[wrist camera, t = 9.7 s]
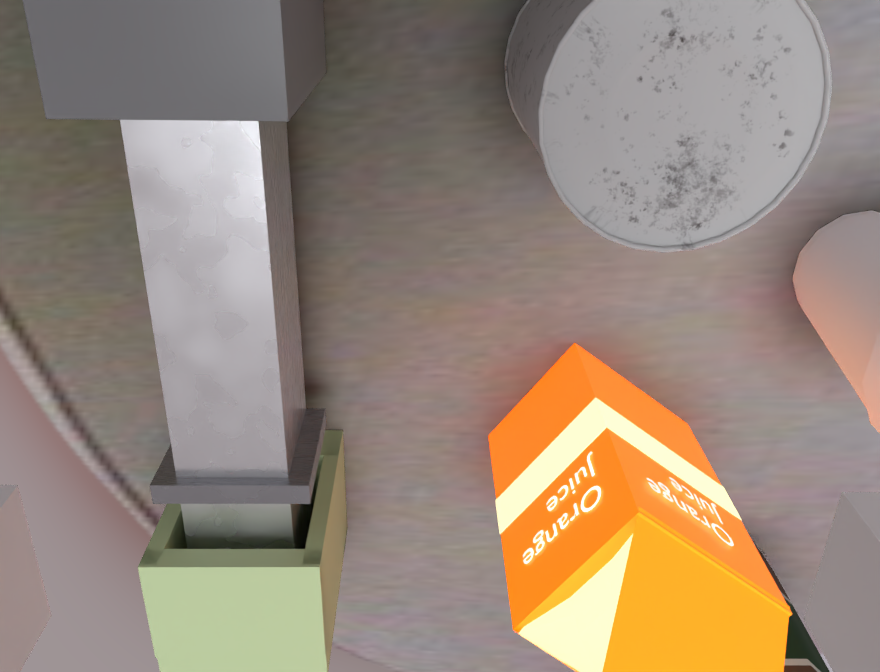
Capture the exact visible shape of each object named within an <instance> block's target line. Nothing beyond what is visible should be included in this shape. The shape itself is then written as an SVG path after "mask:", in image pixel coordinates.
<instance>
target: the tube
mask: <svg viewBox="0 0 880 672" xmlns="http://www.w3.org/2000/svg"><path fill="white" fill-rule="evenodd" d="M120 123H121V129H122V136H123V142H124V148H125V155H126V161H127V167H128V174H129V180H130V186H131V193H132V199H133V205H134V212H135V218H136V225H137V231H138V237H139V244H140V250H141V256H142V263H143V269H144V275H145V282H146V288H147V294H148V301H149V307H150V313H151V320H152V326H153V332H154V339H155V345H156V351H157V358H158V364H159V370H160V377H161V383H162V389H163V396H164V402H165V408H166V415H167V421H168V427H169V434H170V440H171V445H170V447H169V449H168V451H167V453H166V455H165V457H164V459H163V461H162V463H161V465H160V467H159V468H158V470H157V472H156V474H155V476H154V478H153V480H152V482H151V484H150V489H151V495H152V501H153V504H181V510H182V516H183V522H184V529H185V535H186V542H187V548H188V549H305V547H306V542H307V537H308V532H309V527H310V522H311V517H312V512H313V503H312V492H313V487H314V482H315V477H316V473H317V468H318V463H319V458H320V453H321V448H322V444H323V439H324V434H325V429H326V410H325V409H306V401H305V386H304V371H303V357H302V342H301V328H300V313H299V299H298V284H297V269H296V255H295V240H294V226H293V211H292V197H291V182H290V167H289V153H288V138H287V124H286V121H195V120H120Z"/></svg>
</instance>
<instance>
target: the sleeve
mask: <svg viewBox="0 0 880 672" xmlns="http://www.w3.org/2000/svg"><path fill="white" fill-rule="evenodd" d="M23 4H24V9H25V14H26V19H27V24H28V29H29V34H30V40H31V45H32V50H33V55H34V60H35V65H36V70H37V75H38V80H39V85H40V90H41V95H42V100H43V105H44V110H45V116H46V119H104V120H195V121H287V122H288V121H289V120H290V119H291V117H292V116H293V115H294V114H295V112H296V111H297V110H298V109H299V107H300V106H301V105H302V103H303V102H304V101H305V100H306V98H307V97H308V96H309V95H310V93H311V92H312V91H313V89H314V88H315V87H316V86H317V84H318V83H319V82H320V81H321V79H322V78H323V77H324V76H325V74H326V51H325V30H324V8H323V0H23Z"/></svg>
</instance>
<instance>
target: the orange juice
mask: <svg viewBox="0 0 880 672" xmlns="http://www.w3.org/2000/svg"><path fill="white" fill-rule="evenodd" d="M488 438H489V446H490V454H491V462H492V469H493V477H494V485H495V493H496V500H495V501H496V509H497V517H498V525H499V533H500V534H501V539H502V547H503V555H504V563H505V571H506V578H507V586H508V594H509V602H510V609H511V617H512V625H513V630H515V631H516V633H517V632H518V634H519V635H521V636H522V637H524V638H525V639H527V640H528V641H530V642H531V643H533V644H535V645H536V646H538V647H539V648H541V649H542V650H544V651H545V652H547V653H548V654H550V655H551V656H553V657H554V658H556V659H557V660H559V661H561V662H562V663H564V664H565V665H567V666H568V667H570V668H571V669H573V670H574V671H576V672H784V662H785V652H786V641H787V631H788V621H789V616H791V615H792V612H791V610H790V607H789V606H788V605H787V603H786V601H785V600H784V598H783V596H782V594H781V592H780V590H779V589H778V587H777V585H776V583H775V581H774V580H773V578H772V576H771V574H770V572H769V571H768V569H767V567H766V565H765V563H764V561H763V560H762V558H761V556H760V554H759V552H758V551H757V549H756V547H755V545H754V543H753V542H752V540H751V538H750V536H749V534H748V532H747V531H746V529H745V527H744V525H743V523H742V522H741V520H742V519H741V518H740V516H739V514H738V512H737V510H736V509H735V507H734V505H733V503H732V501H731V499H730V498H729V496H728V494H727V492H726V490H725V489H724V487H722V485H721V483H720V482H719V480H718V478H717V476H716V474H715V473H714V471H713V469H712V467H711V465H710V464H709V462H708V460H707V458H706V456H705V454H704V453H703V451H702V449H701V447H700V445H699V444H698V442H697V440H696V438H695V436H694V434H693V433H692V431H691V429H690V427H689V425H688V424H687V423H686V422H684V421H683V420H681V419H680V418H679V417H677V416H676V415H674V414H673V413H672V412H670V411H669V410H668V409H666V408H665V407H663V406H662V405H661V404H659V403H658V402H656V401H655V400H654V399H652V398H651V397H649V396H648V395H647V394H645V393H644V392H643V391H641V390H640V389H638V388H637V387H636V386H634V385H633V384H631V383H630V382H629V381H627V380H626V379H625V378H623V377H622V376H620V375H619V374H618V373H616V372H615V371H613V370H612V369H611V368H609V367H608V366H607V365H605V364H604V363H602V362H601V361H600V360H598V359H597V358H595V357H594V356H593V355H591V354H590V353H588V352H587V351H586V350H584V349H583V348H582V347H580V346H579V345H577V344H576V343H574V344H573V345H572V346H571V347H570V348H569V349H568V350H567V351H566V352H565V354H564V355H563V356H562V357H561V358H560V359H559V360H558V361H557V362H556V363H555V364H554V365H553V366H552V368H551V369H550V370H549V371H548V372H547V373H546V374H545V375H544V376H543V377H542V378H541V379H540V380H539V382H538V383H537V384H536V385H535V386H534V387H533V388H532V389H531V390H530V391H529V392H528V393H527V394H526V396H525V397H524V398H523V399H522V400H521V401H520V402H519V403H518V404H517V405H516V406H515V407H514V408H513V410H512V411H511V412H510V413H509V414H508V415H507V416H506V417H505V418H504V419H503V420H502V421H501V422H500V424H499V425H498V426H497V427H496V428H495V429H494V430H493V431H492V432H491V433H490V434H489V435H488Z"/></svg>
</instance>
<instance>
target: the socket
mask: <svg viewBox="0 0 880 672" xmlns="http://www.w3.org/2000/svg"><path fill="white" fill-rule="evenodd" d="M312 503H313V512H312V517H311V522H310V527H309V532H308V537H307V542H306V547H305V549H188V548H187V542H186V535H185V529H184V522H183V516H182V510H181V504H167V505H166V507H165V510H164V512H163V514H162V516H161V518H160V520H159V523H158V525H157V527H156V529H155V531H154V533H153V536H152V538H151V540H150V542H149V544H148V546H147V548H146V551H145V553H144V555H143V557H142V559H141V562H140V564H139V566H138V571H139V576H140V581H141V587H142V592H143V597H144V602H145V607H146V612H147V617H148V622H149V627H150V633H151V638H152V643H153V648H154V653H155V657H156V658H157V659H158V664H159V669H160V672H328V668H329V660H330V653H331V646H332V639H333V631H334V624H335V616H336V609H337V602H338V594H339V587H340V579H341V572H342V564H343V557H344V549H345V542H346V534H347V509H346V487H345V466H344V444H343V430H325V434H324V439H323V444H322V448H321V453H320V458H319V463H318V468H317V473H316V477H315V482H314V487H313V492H312Z"/></svg>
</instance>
